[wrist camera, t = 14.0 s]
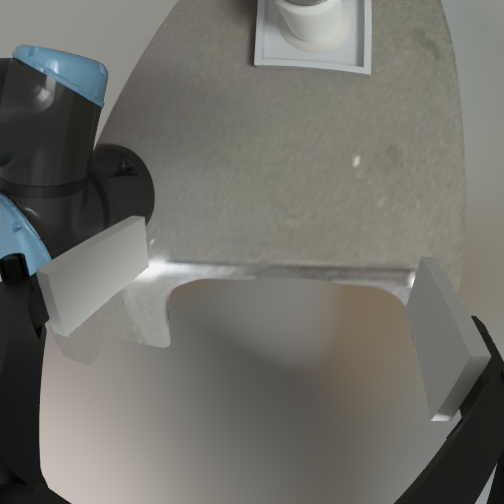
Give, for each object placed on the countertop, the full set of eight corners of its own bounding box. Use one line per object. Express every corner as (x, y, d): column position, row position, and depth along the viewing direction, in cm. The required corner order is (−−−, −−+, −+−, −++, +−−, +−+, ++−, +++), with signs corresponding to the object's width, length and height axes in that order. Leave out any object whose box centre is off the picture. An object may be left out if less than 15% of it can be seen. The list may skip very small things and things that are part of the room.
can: (323, 52, 31) (318, 22, 20) (277, 27, 31) (253, -8, 20) (350, 15, 28) (355, -26, 17) (304, -9, 28) (290, -54, 17)
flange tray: (258, 68, 34) (254, 65, 32) (263, -20, 29) (259, -27, 27) (368, 77, 31) (370, 74, 29) (368, -14, 26) (370, -21, 24)
